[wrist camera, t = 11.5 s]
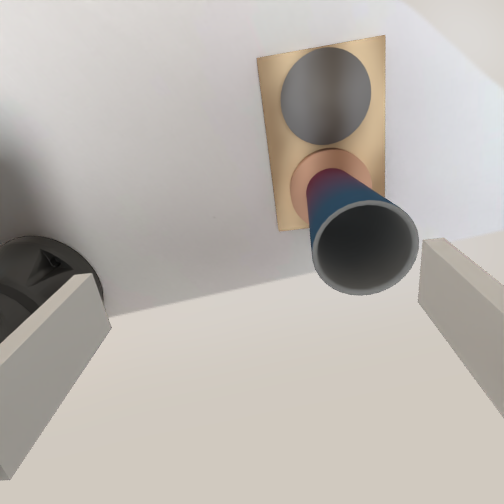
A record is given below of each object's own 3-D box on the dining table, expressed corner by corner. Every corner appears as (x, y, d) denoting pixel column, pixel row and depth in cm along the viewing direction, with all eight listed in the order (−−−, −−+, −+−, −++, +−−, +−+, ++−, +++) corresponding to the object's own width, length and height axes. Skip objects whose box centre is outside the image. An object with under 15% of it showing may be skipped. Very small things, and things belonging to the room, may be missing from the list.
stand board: (278, 228, 41) (278, 237, 39) (257, 59, 34) (255, 55, 31) (382, 216, 40) (389, 225, 37) (382, 36, 33) (392, 31, 30)
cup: (297, 223, 38) (311, 296, 24) (297, 160, 35) (313, 201, 21) (360, 221, 37) (411, 295, 24) (366, 157, 34) (427, 198, 21)
